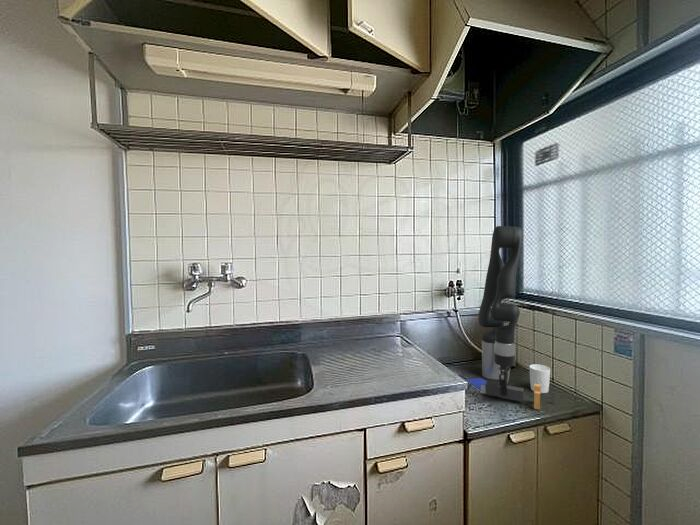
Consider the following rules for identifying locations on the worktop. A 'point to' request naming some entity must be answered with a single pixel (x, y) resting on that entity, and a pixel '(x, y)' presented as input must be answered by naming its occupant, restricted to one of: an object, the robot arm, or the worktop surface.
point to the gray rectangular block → (496, 391)
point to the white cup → (540, 377)
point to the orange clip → (537, 396)
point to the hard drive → (477, 383)
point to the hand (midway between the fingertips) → (504, 393)
